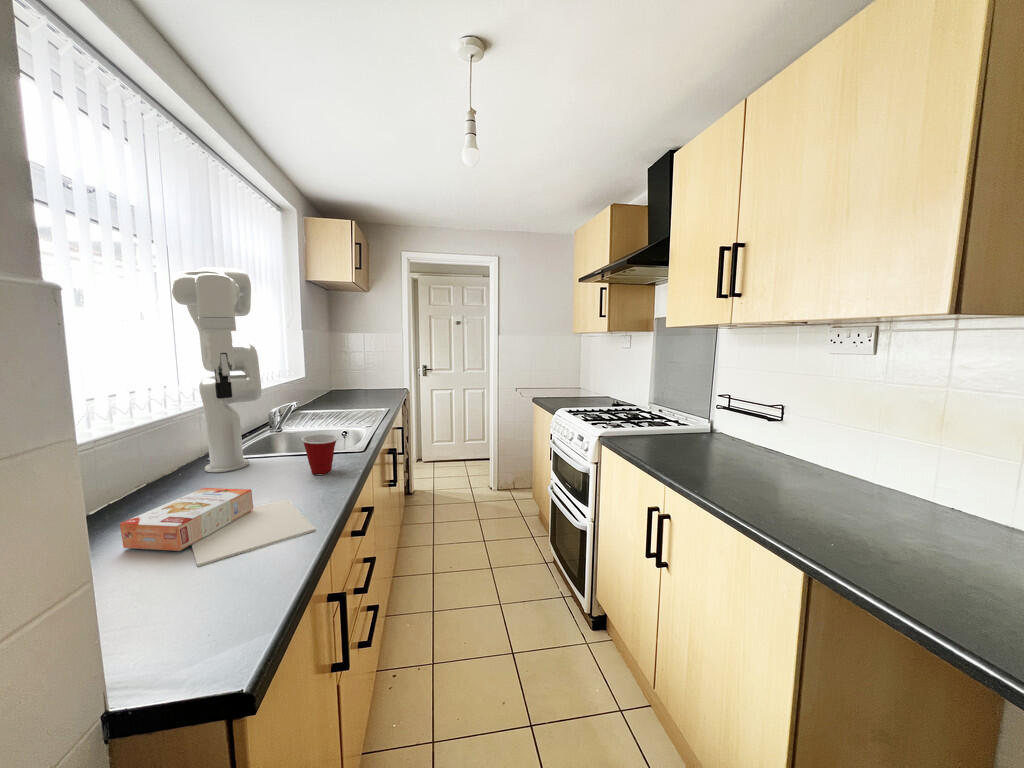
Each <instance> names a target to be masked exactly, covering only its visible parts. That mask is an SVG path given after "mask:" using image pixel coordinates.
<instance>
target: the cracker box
mask: <svg viewBox="0 0 1024 768" xmlns="http://www.w3.org/2000/svg"><path fill="white" fill-rule="evenodd" d="M253 507H254V503H253V493H252V489H250V488H249V489H248V488H246V489H245V488H244V489H243V488H220V487H219V488H218V487H216V488H214V487H203V488H200V489H198V490H196V491H194V492H191V493H188V494H186V495H184V496H181V497H179V498H176V499H174V500H172V501H169V502H167V503H164V504H163V505H160V506H158V507H155V508H153V509H151V510H148V511H146V512H144V513H141V514H139V515H136V516H134V517H132V518H130V519H127V520H125V521H122V522H120V523H119V526H120V533H121V540H122V547H123V549H137V550H138V549H141V550H155V551H157V550H161V551H179V552H180V551H182V550H184V549H186V548H188V547H189V546H191V544H193V543H195V542H196V541H198V540H200V539H202V538H204V537H205V536H207V535H209V534H211V533H212V532H214V531H216V530H218V529H220V528H221V527H223V526H225V525H227V524H228V523H230V522H232V521H234V520H236V519H237V518H239V517H241V516H243V515H244V514H246V513H248V512H250V511H251V510H253Z"/></svg>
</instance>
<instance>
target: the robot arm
mask: <svg viewBox="0 0 1024 768" xmlns="http://www.w3.org/2000/svg"><path fill="white" fill-rule="evenodd" d="M170 286H171V287H170V288H171V293H172V297H173V299H174V300H175V301H176V302H177V304H179V305H183V306H186V308H187V311H188V313H189V314H190V317H191V319H192V320H193V322H194V324H195V326H196V329H198V330H197V331H198V334H199V341H200V343H199V344H200V353H201V361H202V365H203V366H202V367H203V368H204V370H206V371H207V372H212V373H213V372H214V376H207V377H205V378H204V379H202V380H201V381H200V383H199V386H198V387H199V395H200V398H201V400H202V401H201V402H202V406H203V409H204V416H205V425H206V426H205V427H206V434H207V436H206V437H207V446H208V453H209V454H208V456H209V464H207V465H205V466H204V471H205V472H208V473H225V472H231V471H235V470H240V469H243V468H245V467H247V466H248V465H250V460H249V459H247V458H244V452H243V449H244V448H243V442H242V441H243V440H242V428H241V427H242V426H241V418H240V413H238V411H237V410H236V409H235V408H233V407H232V406H230V404H235V403H236V404H237V403H248V402H255V401H259V400H260V399H261V397H262V380H261V373H260V363H259V357H258V351H257V349H256V348H255V346H254V345H252V344H250V343H243V342H242V343H233V336H232V332H237V324H236V317H244V316H248V314H250V311H251V306H252V305H251V302H252V283H251V279H250V277H249V275H248V273H247V272H246V271H244V270H242V269H238V268H228V267H227V268H226V267H225V268H224V267H214V266H213V267H212V266H211V267H209V266H208V267H202V268H200V269H198V270H193V271H179V272H176V273H175V274H174V275H173V276H172V279H171V285H170ZM231 372H243V374H234V375H232V374H231Z"/></svg>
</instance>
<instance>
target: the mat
mask: <svg viewBox="0 0 1024 768" xmlns="http://www.w3.org/2000/svg"><path fill="white" fill-rule="evenodd" d="M313 532H316V527H315V526H314V525H313V524H312V523H311V522H310V521H309V520H308V519H307V518H306V517H305V516H304V514H302V512H300V511H299V510H298V509H297V507H295V505H294V504H293V503H292V502H290V500H289V499H288V498H286V499H281V500H278V501H274V502H269V503H265V504H260V505H257V506H253V510H251V511H250V512H248V513H246V514H244V515H243V516H241V517H239V518H237V519H236V520H234V521H232V522H230V523H228V524H227V525H225V526H223V527H221V528H220V529H218V530H216V531H214V532H212V533H211V534H209V535H207V536H205V537H204V538H202V539H200V540H198V541H196V542H195V543H193V544H191V545H190V546H191V548H192V552H193V555H194V560H195V562H196V563H195V564H196V567H197V566H198V567H201V566H200V565H202V566H205V565H208V564H211V563H215V562H217V560H218V561H220V559H221V560H224V559H227V558H226V557H228V558H230V556H231V557H233V556H232V555H234V556H237V555H236V554H238V555H241V554H243V553H244V554H245V553H247V552H251V551H254V550H256V549H260V548H263V547H267V546H270V545H274V544H277V543H279V542H283V541H287V540H289V538H290V539H293V538H296V537H300V536H303V535H305V534H309V533H313ZM286 539H287V540H286ZM273 543H274V544H273ZM240 553H241V554H240ZM214 561H215V562H214ZM204 564H205V565H204Z"/></svg>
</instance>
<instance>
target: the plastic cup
mask: <svg viewBox="0 0 1024 768" xmlns="http://www.w3.org/2000/svg"><path fill="white" fill-rule="evenodd" d="M338 437H339V436H337V435H334V434H329V433H319V434H318V433H317V434H310V435H309V434H308V435H306V436H305V435H304V436H303V437H301V441H302V443H303V446H304V449H305V452H306V458H307V461H308V464H309V467H310V472H311V474H312V475H313V474H325V473H328V472H330V471H332V468H333V462H334V455H335V454H334V453H335V447H336V444H337V441H338V439H339V438H338ZM330 473H331V472H330ZM328 474H329V473H328ZM325 475H326V474H325Z"/></svg>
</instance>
